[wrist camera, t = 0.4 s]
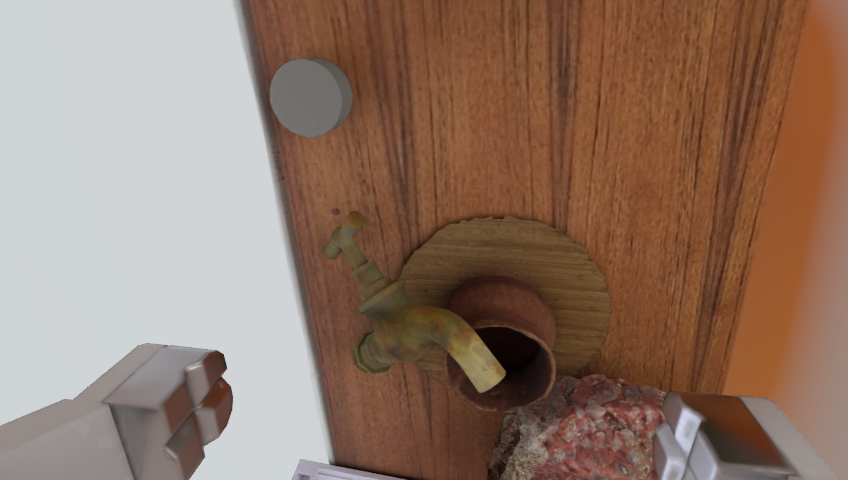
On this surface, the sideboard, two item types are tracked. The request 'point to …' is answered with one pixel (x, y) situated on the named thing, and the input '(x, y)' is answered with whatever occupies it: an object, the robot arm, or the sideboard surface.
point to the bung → (310, 96)
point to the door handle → (333, 473)
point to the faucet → (407, 320)
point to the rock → (581, 433)
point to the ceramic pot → (512, 304)
